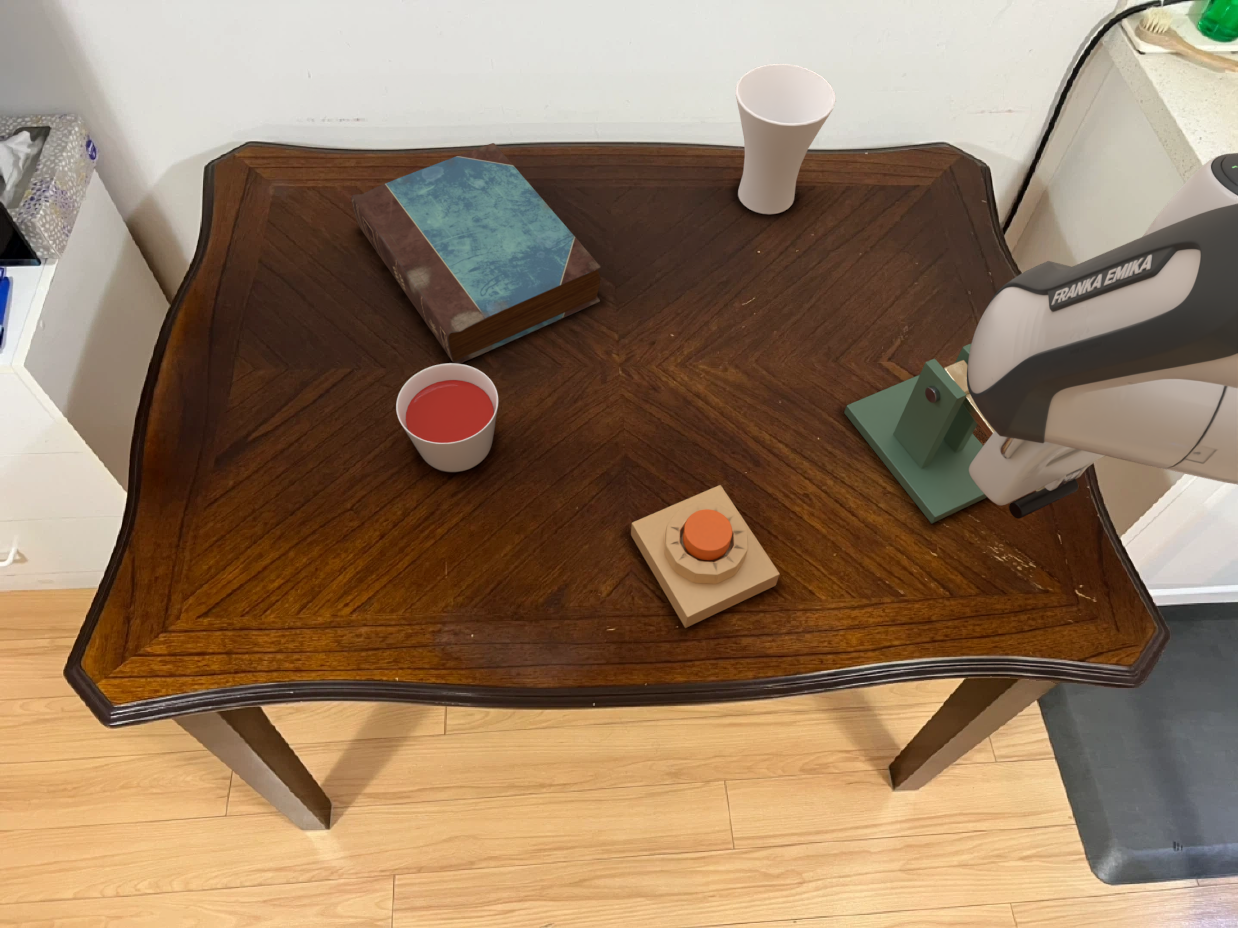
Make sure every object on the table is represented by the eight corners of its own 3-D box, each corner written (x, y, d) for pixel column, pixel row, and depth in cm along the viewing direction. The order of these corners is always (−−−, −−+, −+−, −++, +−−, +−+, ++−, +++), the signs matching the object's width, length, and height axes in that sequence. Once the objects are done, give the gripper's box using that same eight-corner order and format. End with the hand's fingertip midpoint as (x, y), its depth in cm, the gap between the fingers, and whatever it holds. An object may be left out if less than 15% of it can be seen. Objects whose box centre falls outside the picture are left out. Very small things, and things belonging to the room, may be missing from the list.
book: (358, 231, 105) (349, 195, 101) (499, 177, 111) (495, 141, 107) (453, 367, 95) (446, 334, 91) (602, 300, 100) (603, 266, 96)
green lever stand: (1008, 487, 88) (1061, 410, 79) (931, 524, 86) (975, 450, 76) (917, 381, 95) (955, 298, 85) (843, 412, 93) (873, 331, 83)
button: (738, 549, 80) (741, 539, 78) (697, 568, 79) (699, 558, 77) (714, 512, 82) (717, 502, 80) (674, 530, 81) (675, 520, 79)
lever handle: (1069, 496, 79) (1084, 484, 77) (1013, 524, 78) (1027, 511, 76) (970, 367, 85) (981, 351, 83) (915, 390, 83) (925, 375, 81)
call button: (776, 585, 82) (783, 563, 79) (685, 628, 80) (689, 607, 76) (717, 497, 87) (722, 473, 84) (630, 535, 85) (632, 512, 81)
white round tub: (462, 390, 93) (455, 347, 88) (523, 444, 90) (519, 403, 84) (388, 441, 90) (375, 400, 84) (448, 500, 86) (438, 461, 81)
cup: (715, 166, 113) (729, 63, 101) (802, 165, 113) (826, 62, 102) (726, 228, 107) (742, 125, 96) (818, 226, 107) (845, 123, 96)
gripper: (1053, 457, 60) (978, 560, 71) (1282, 348, 65) (1178, 461, 77) (988, 386, 63) (926, 496, 74) (1212, 288, 68) (1122, 404, 80)
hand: (1056, 477), depth 75 cm, fingers closed
